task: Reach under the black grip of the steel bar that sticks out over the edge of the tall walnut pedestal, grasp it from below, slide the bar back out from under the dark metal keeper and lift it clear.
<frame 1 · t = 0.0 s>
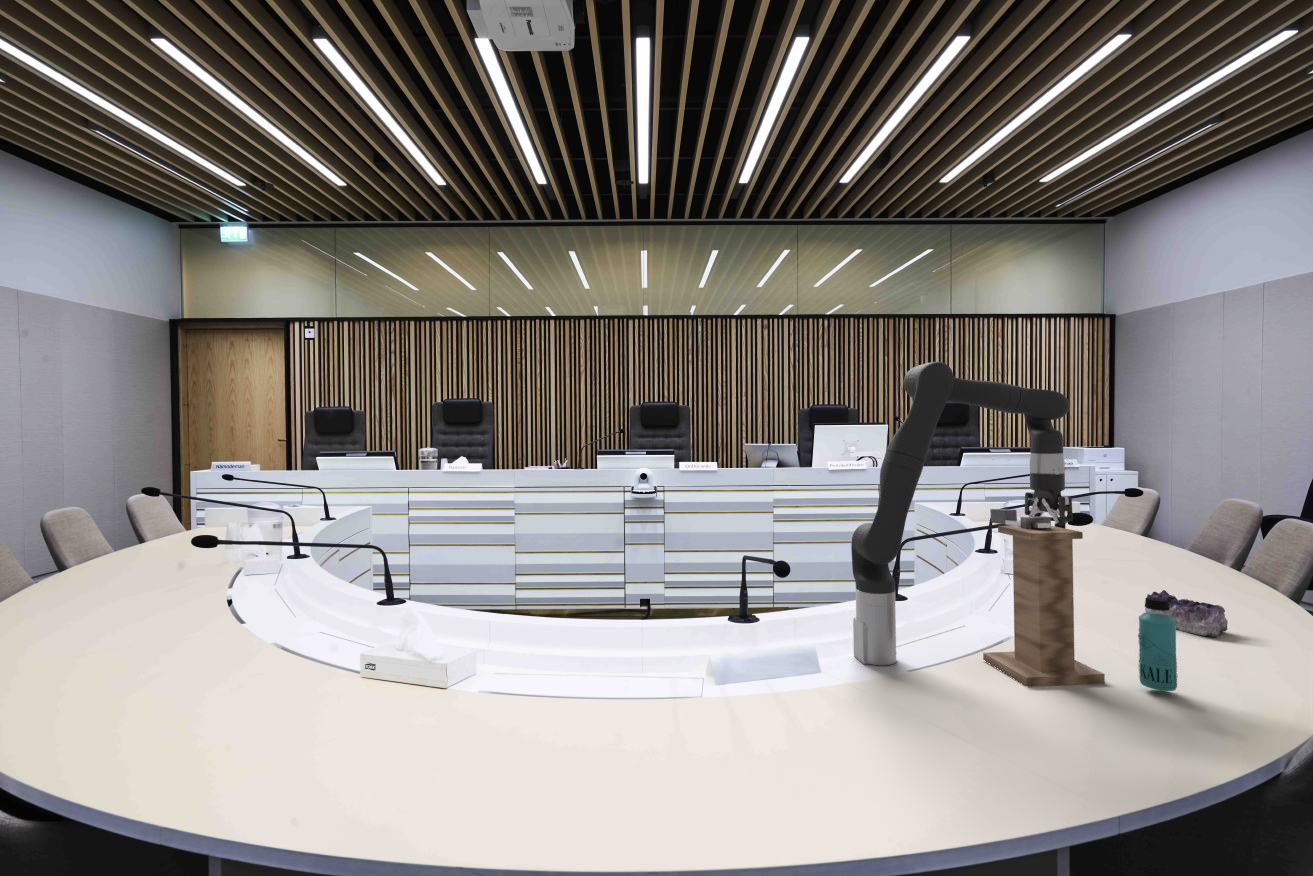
hand: (1048, 535, 159), 29 cm above the table, fingers open, 8 cm apart
beverage bottle: (1158, 693, 133), on the table
geode: (1182, 628, 177), on the table
walnut pedestal: (1041, 671, 146), on the table
steel bar: (1021, 525, 152), point 33 cm above the table, touching walnut pedestal
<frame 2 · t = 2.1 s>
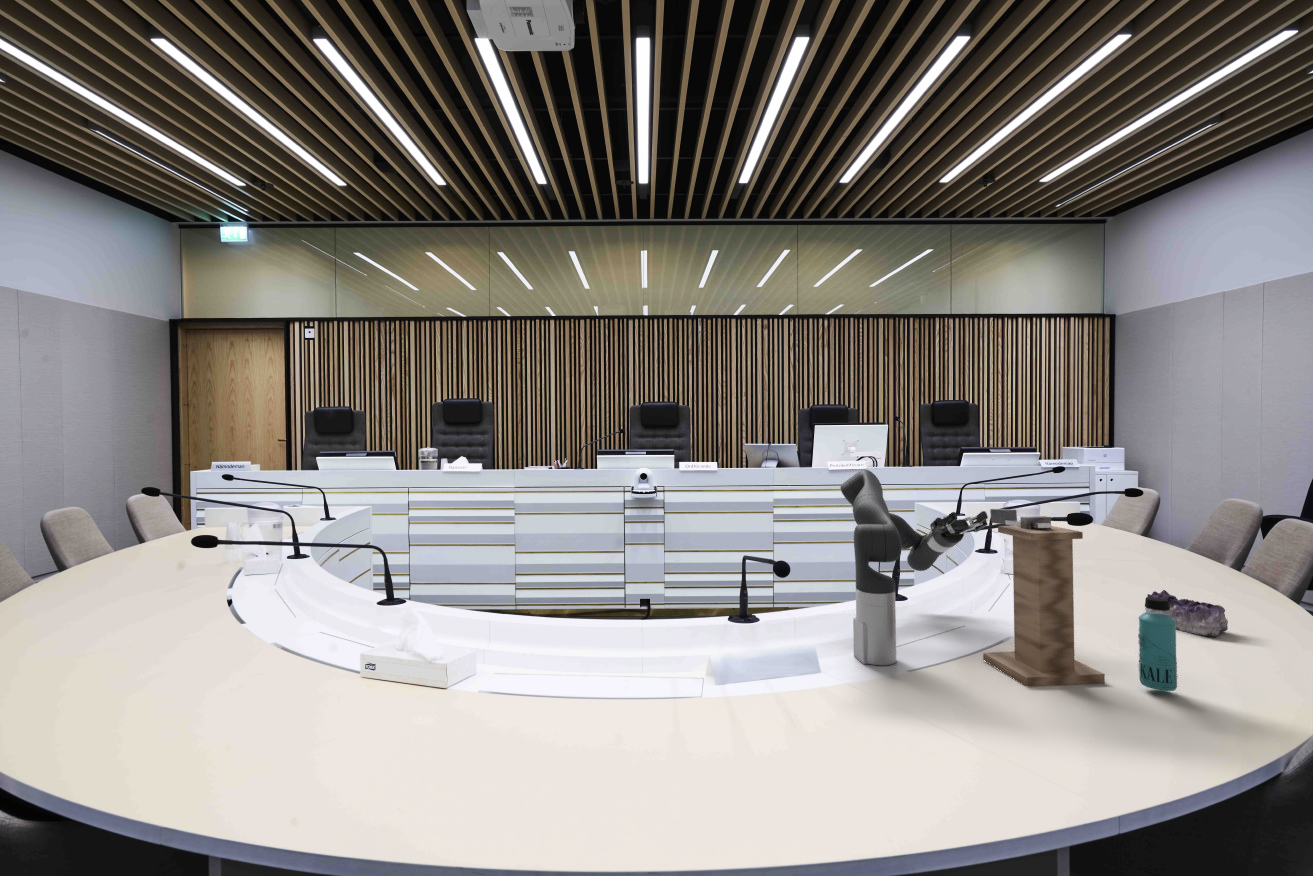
hand: (970, 514, 174), 33 cm above the table, fingers open, 8 cm apart
nothing on the table moved.
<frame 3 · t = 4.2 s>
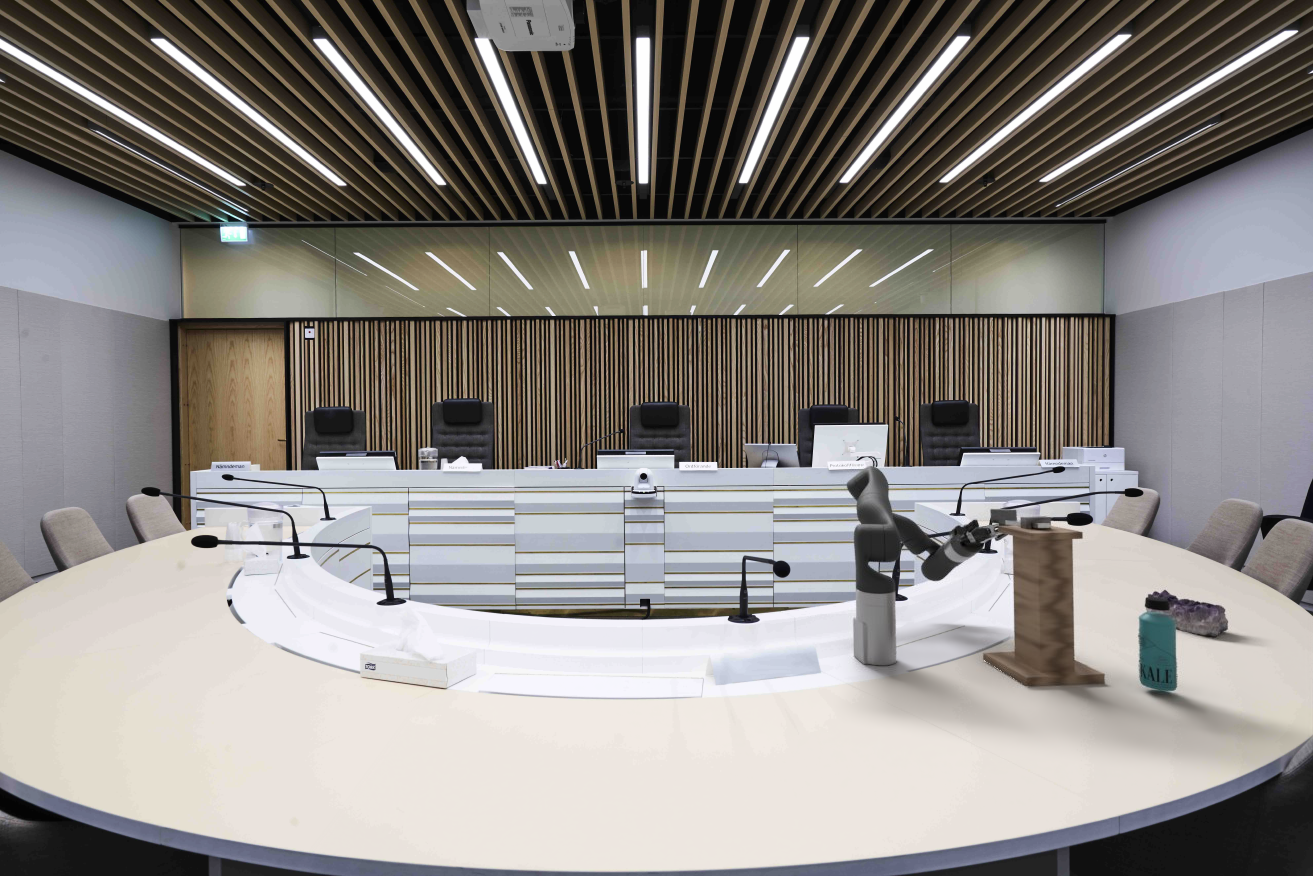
hand: (992, 522, 164), 32 cm above the table, fingers open, 8 cm apart
nothing on the table moved.
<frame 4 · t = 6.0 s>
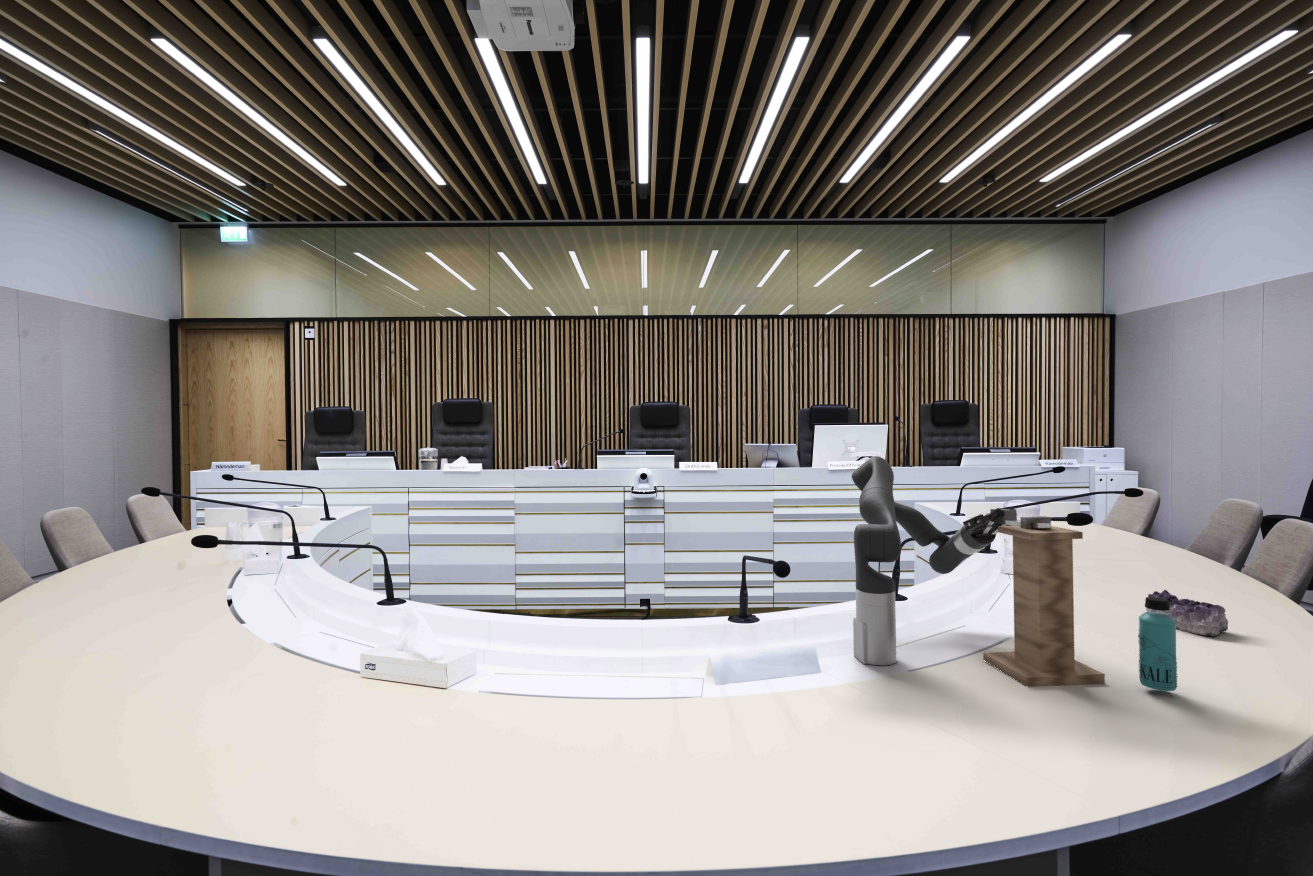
hand: (1007, 511, 158), 36 cm above the table, fingers closed on steel bar, 3 cm apart
steel bar: (1021, 525, 152), point 33 cm above the table, touching gripper, walnut pedestal
everything else where it was.
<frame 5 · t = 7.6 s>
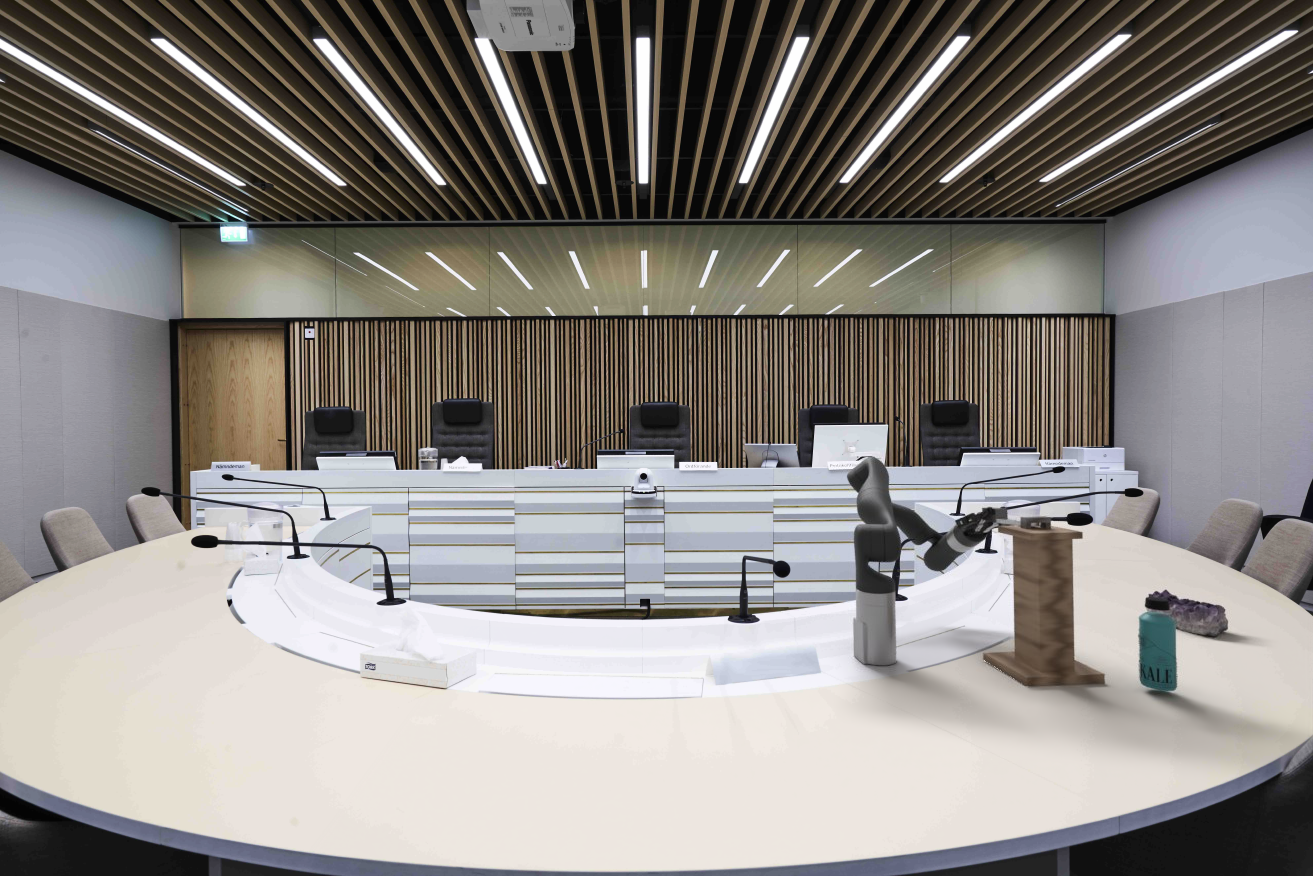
hand: (998, 510, 161), 36 cm above the table, fingers closed on steel bar, 3 cm apart
steel bar: (1012, 523, 156), point 33 cm above the table, touching gripper
everything else where it was.
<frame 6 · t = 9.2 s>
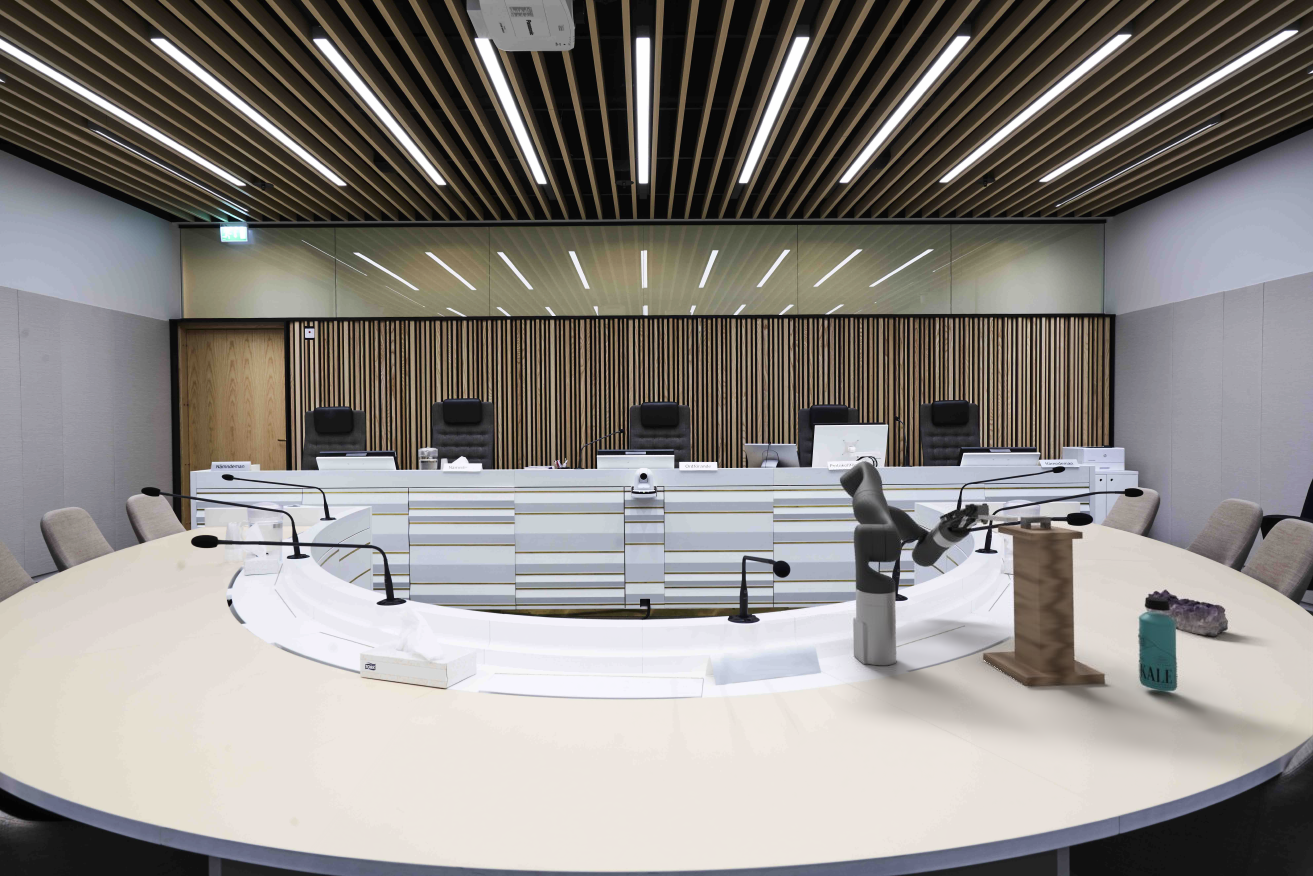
hand: (980, 506, 169), 36 cm above the table, fingers closed on steel bar, 3 cm apart
steel bar: (992, 519, 164), point 33 cm above the table, touching gripper
everything else where it was.
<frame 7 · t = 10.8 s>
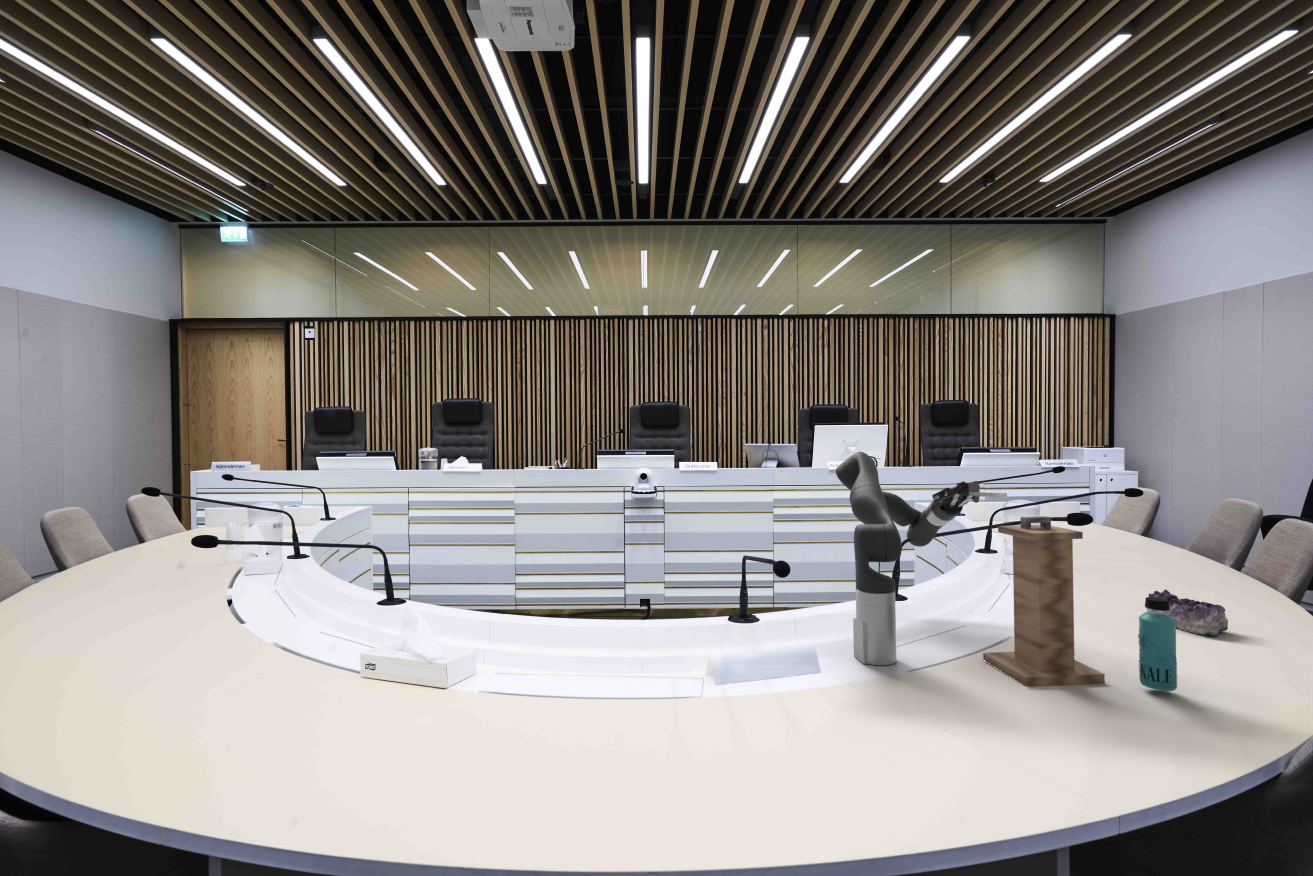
hand: (971, 484, 174), 41 cm above the table, fingers closed on steel bar, 3 cm apart
steel bar: (983, 496, 168), point 39 cm above the table, touching gripper
everything else where it was.
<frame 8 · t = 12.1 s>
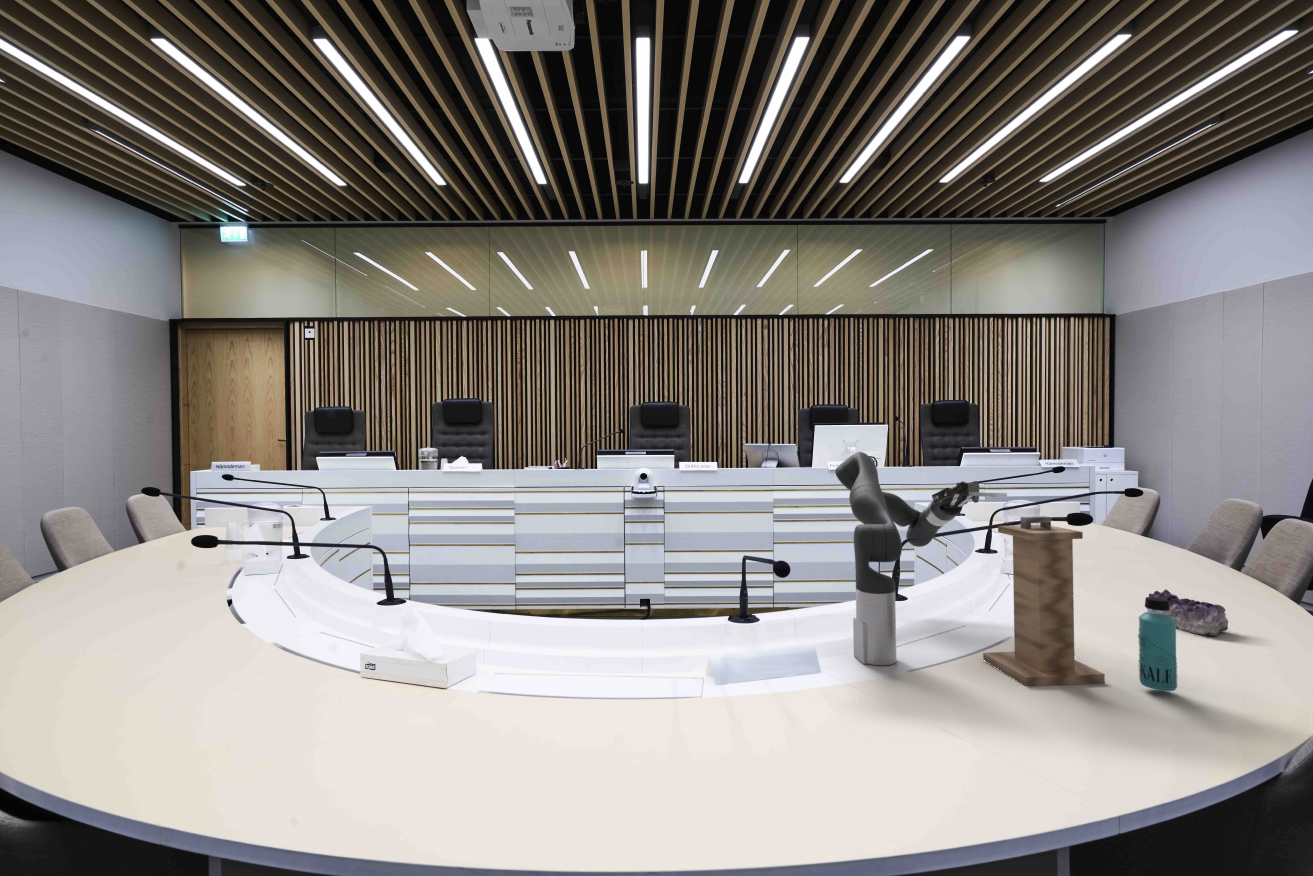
hand: (970, 484, 174), 41 cm above the table, fingers closed on steel bar, 3 cm apart
steel bar: (982, 496, 168), point 39 cm above the table, touching gripper
at the end: the gripper is holding steel bar; steel bar inside the target area (1.6 cm from its centre), point 38.6 cm above the table; steel bar touching gripper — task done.
